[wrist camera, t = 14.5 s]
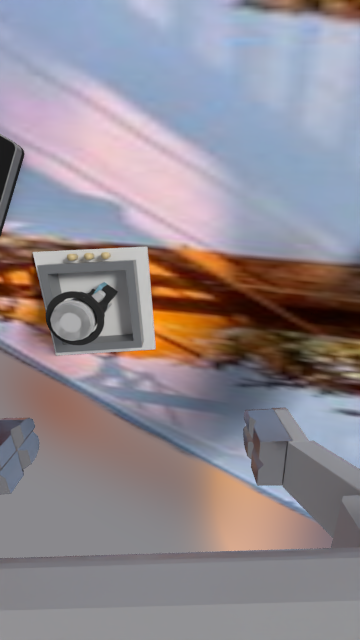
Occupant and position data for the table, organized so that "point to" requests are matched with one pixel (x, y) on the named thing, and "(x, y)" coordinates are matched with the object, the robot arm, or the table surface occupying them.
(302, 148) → the table surface
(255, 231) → the table surface
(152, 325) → the dock
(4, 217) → the external hard drive
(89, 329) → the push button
